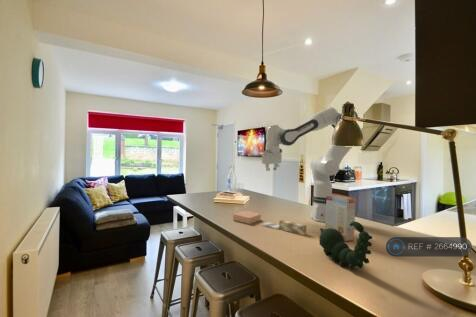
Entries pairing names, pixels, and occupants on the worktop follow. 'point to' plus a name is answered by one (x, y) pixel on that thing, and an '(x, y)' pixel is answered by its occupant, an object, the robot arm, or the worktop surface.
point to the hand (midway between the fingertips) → (271, 170)
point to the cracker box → (340, 214)
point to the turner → (287, 226)
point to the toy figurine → (346, 246)
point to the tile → (247, 217)
